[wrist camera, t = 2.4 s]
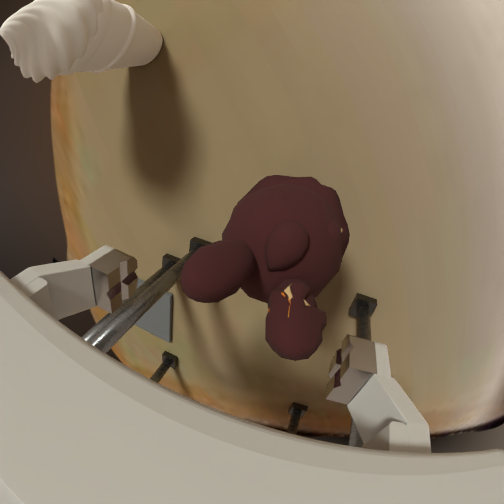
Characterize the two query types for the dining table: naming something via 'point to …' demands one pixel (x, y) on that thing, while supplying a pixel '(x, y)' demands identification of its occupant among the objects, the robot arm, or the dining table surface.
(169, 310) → the mat
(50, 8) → the soft serve ice cream cone
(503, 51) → the dining table surface
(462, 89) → the dining table surface
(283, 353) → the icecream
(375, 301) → the wire frame
